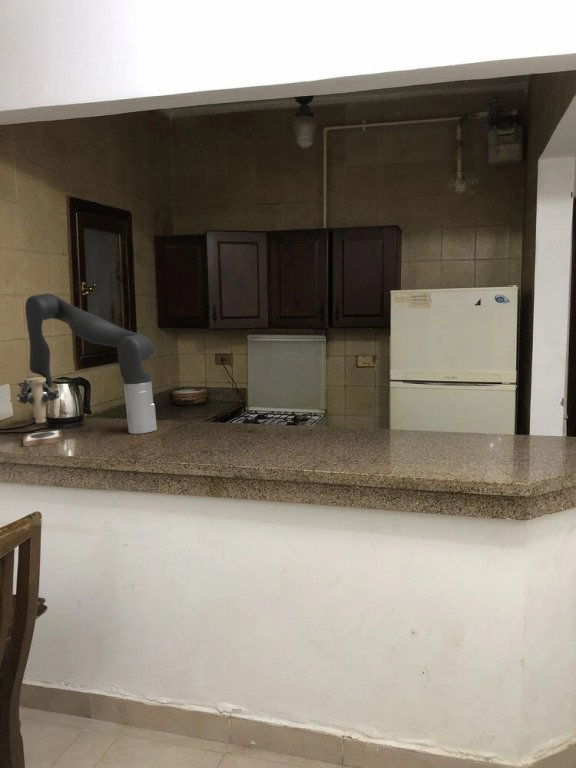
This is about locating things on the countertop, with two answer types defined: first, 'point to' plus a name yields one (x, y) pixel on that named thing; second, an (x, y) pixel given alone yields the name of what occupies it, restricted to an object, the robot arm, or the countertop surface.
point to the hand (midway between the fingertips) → (38, 400)
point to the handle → (38, 398)
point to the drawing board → (42, 438)
